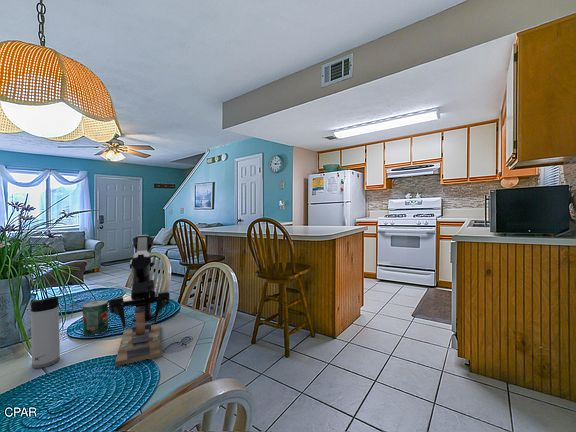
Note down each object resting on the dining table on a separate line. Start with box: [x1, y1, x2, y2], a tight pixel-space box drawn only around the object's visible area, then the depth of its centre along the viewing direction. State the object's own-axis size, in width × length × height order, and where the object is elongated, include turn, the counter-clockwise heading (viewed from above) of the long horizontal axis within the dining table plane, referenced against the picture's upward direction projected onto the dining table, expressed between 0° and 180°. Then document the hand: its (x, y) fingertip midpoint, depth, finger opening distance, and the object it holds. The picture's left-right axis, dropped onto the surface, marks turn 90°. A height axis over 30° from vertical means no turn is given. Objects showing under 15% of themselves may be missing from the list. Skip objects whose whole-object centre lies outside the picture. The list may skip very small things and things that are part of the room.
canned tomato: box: [82, 299, 109, 336], centre depth 101 cm, size 8×8×11 cm
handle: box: [131, 306, 149, 344], centre depth 90 cm, size 5×5×11 cm
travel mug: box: [30, 296, 61, 369], centre depth 80 cm, size 6×7×20 cm
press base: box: [114, 322, 161, 368], centre depth 91 cm, size 24×12×4 cm, turn 26°
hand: (140, 324), depth 90 cm, fingers open, 9 cm apart
